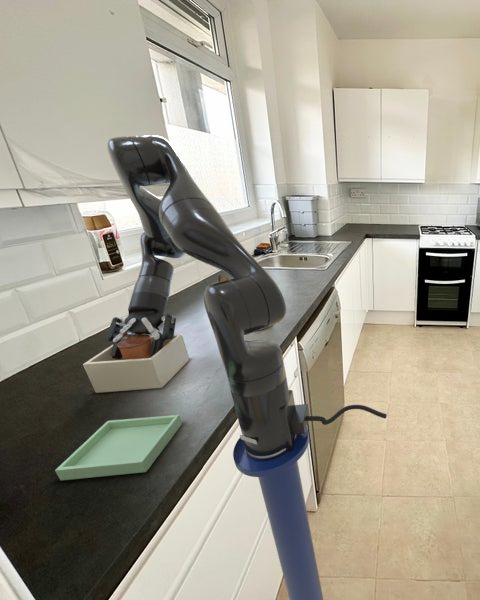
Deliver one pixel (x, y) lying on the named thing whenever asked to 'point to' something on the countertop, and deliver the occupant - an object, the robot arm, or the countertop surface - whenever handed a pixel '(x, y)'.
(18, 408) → the countertop surface
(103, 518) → the countertop surface
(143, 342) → the terracotta pot
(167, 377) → the cream storage bin
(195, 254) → the robot arm
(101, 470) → the shallow green tray
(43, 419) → the countertop surface
